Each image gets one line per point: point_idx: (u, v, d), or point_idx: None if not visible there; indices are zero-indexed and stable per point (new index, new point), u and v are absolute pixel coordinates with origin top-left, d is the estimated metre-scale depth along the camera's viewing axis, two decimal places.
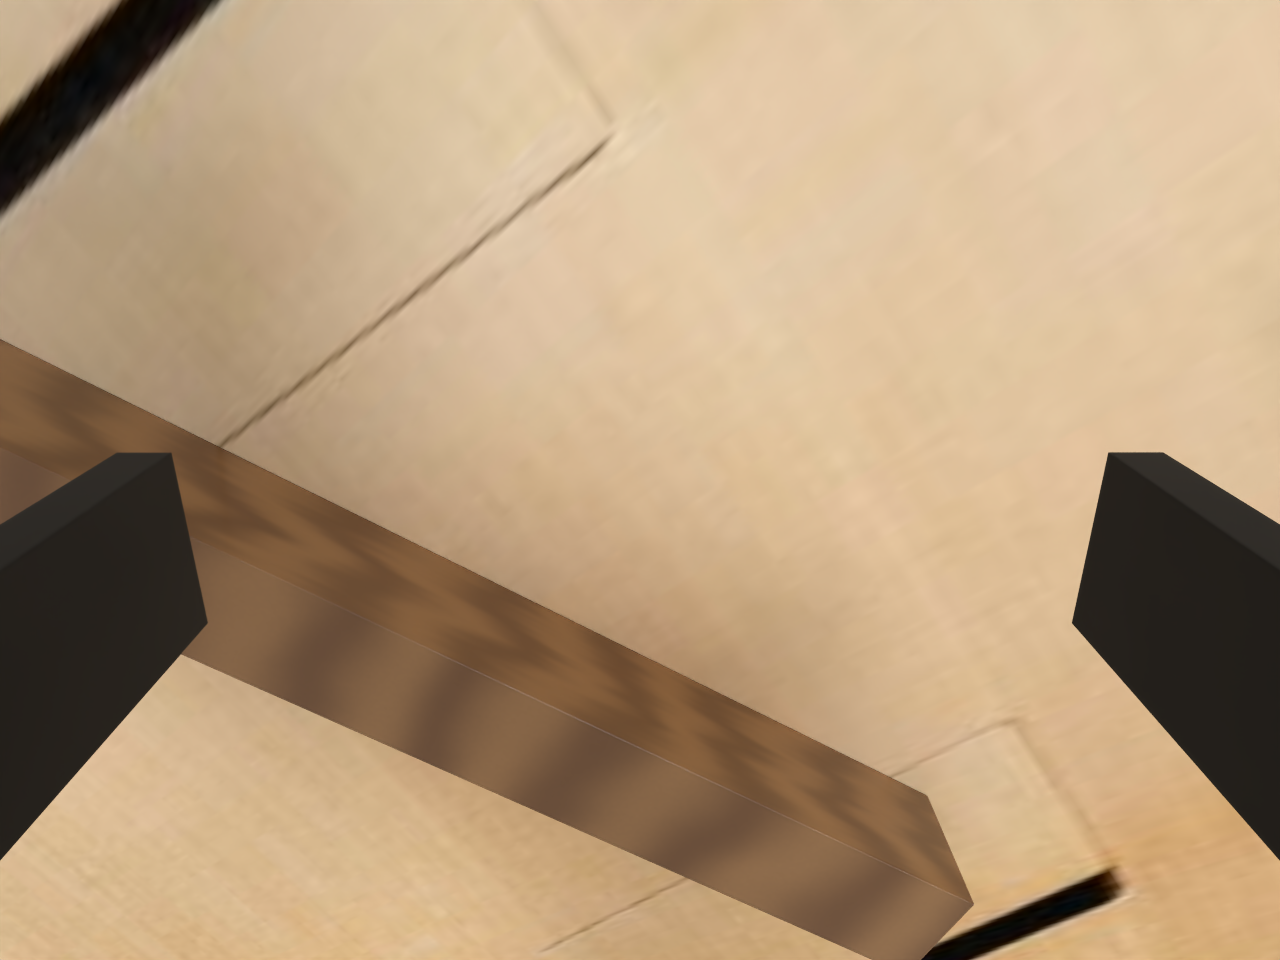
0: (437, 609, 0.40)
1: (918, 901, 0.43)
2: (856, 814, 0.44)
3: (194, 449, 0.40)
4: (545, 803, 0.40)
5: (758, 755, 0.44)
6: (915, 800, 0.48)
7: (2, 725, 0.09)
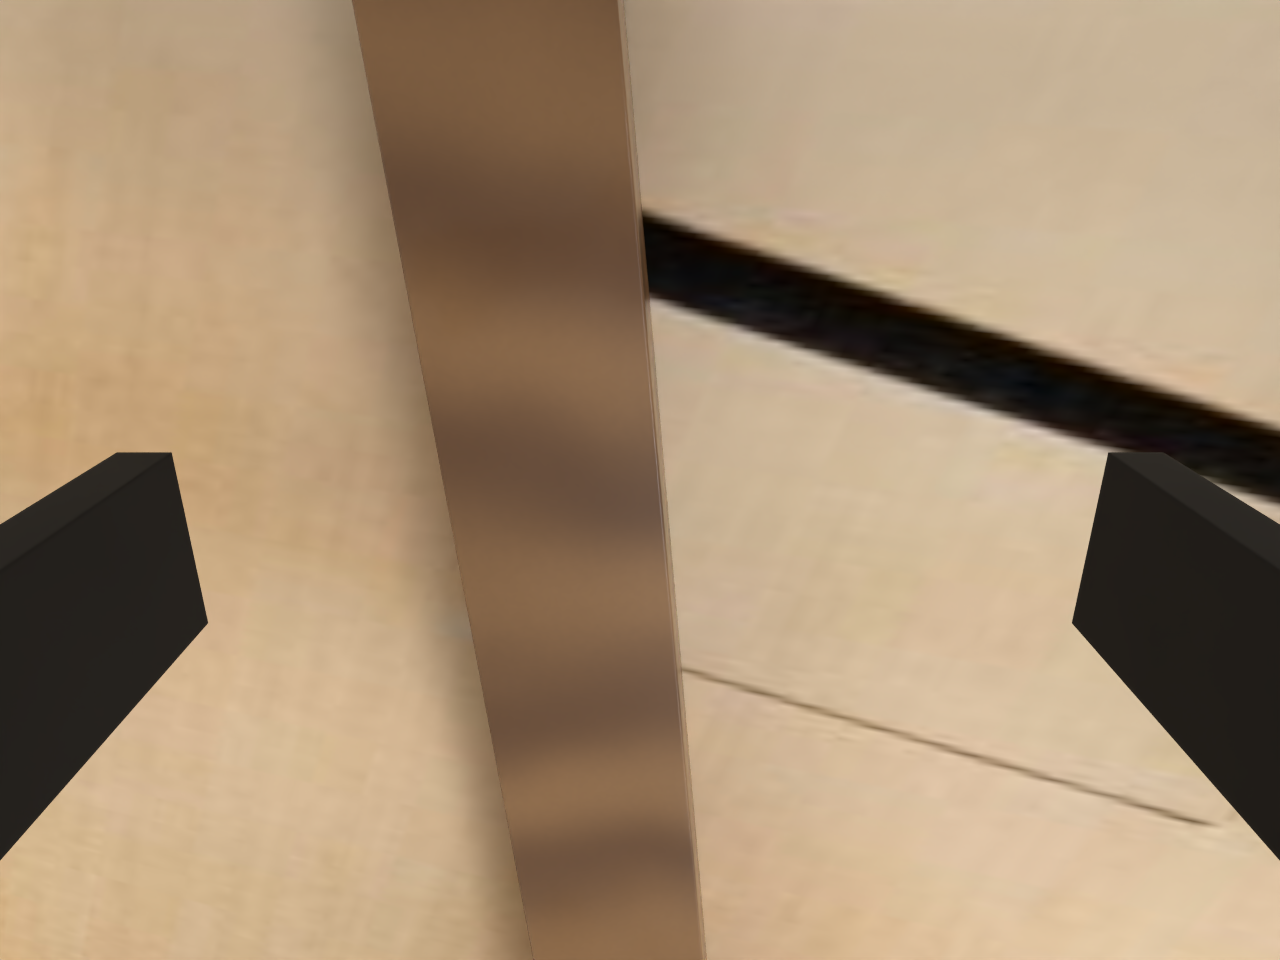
0: None
1: None
2: None
3: (681, 675, 0.32)
4: None
5: None
6: None
7: (2, 724, 0.09)
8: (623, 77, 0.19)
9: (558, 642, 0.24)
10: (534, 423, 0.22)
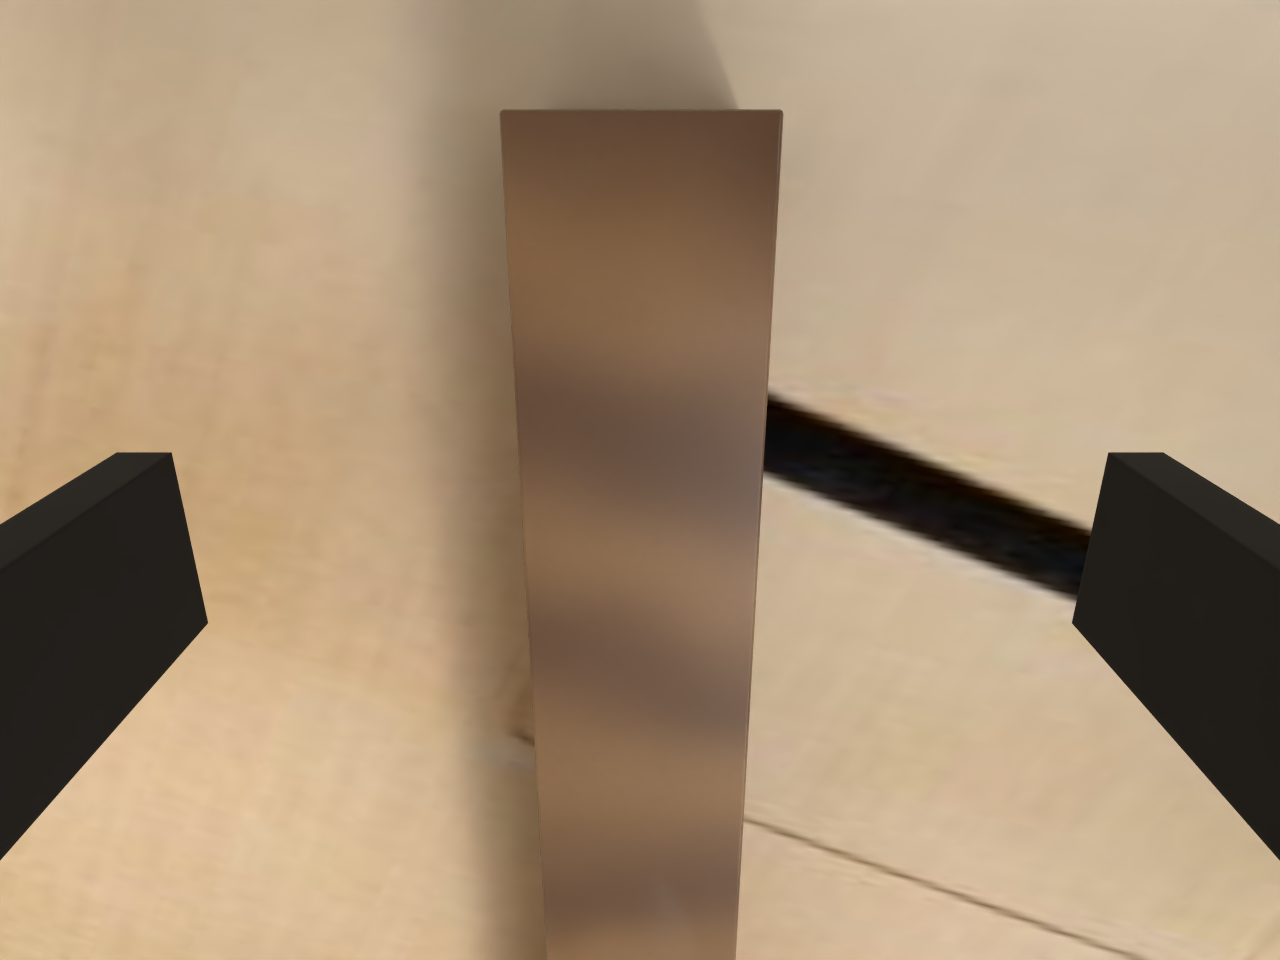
0: None
1: None
2: None
3: None
4: None
5: None
6: None
7: (1, 725, 0.09)
8: (770, 315, 0.19)
9: (626, 826, 0.24)
10: (631, 624, 0.21)
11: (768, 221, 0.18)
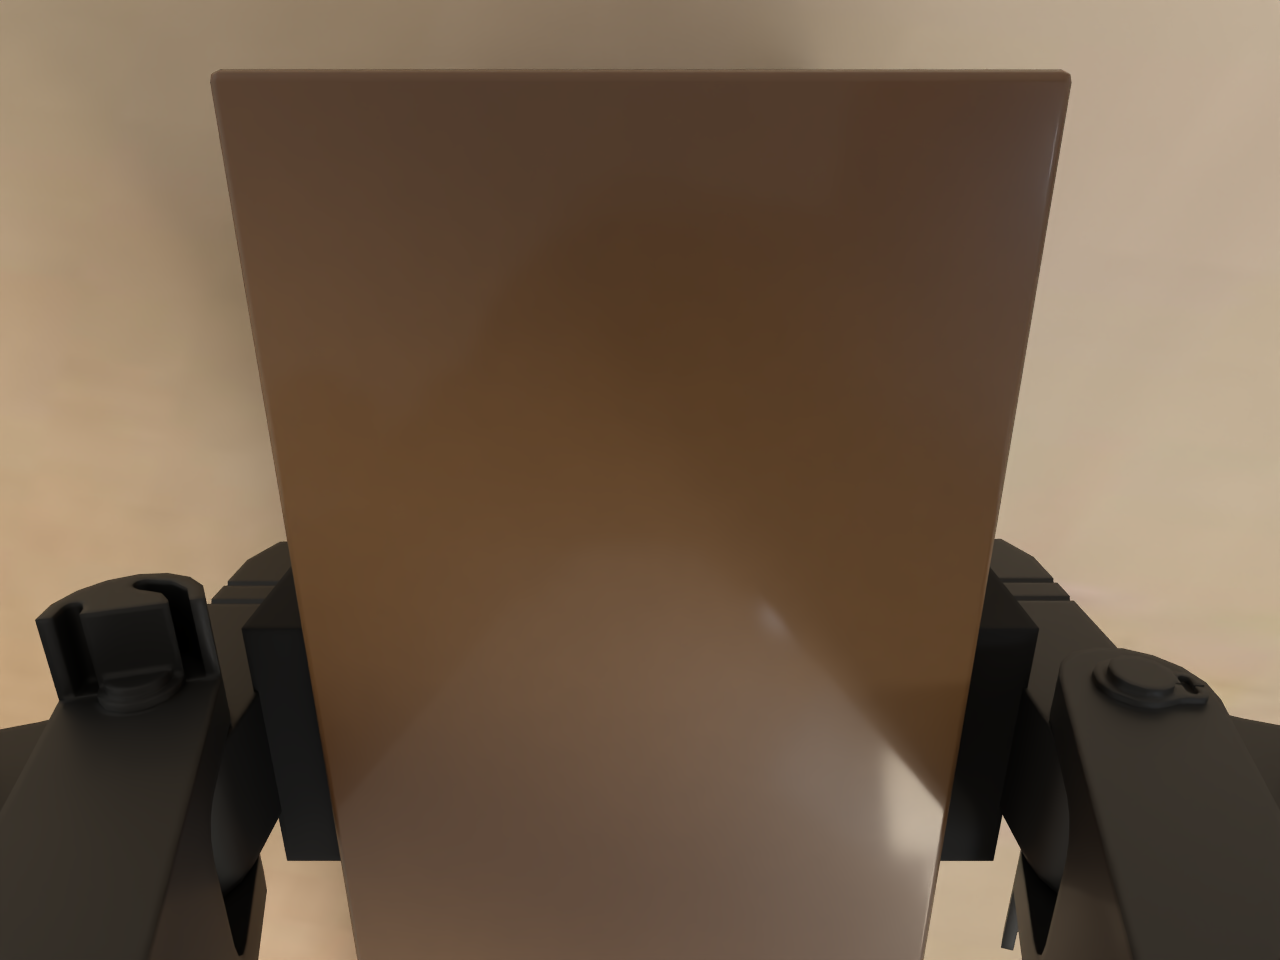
0: None
1: None
2: None
3: None
4: None
5: None
6: None
7: None
8: (980, 617, 0.07)
9: None
10: None
11: (998, 388, 0.06)
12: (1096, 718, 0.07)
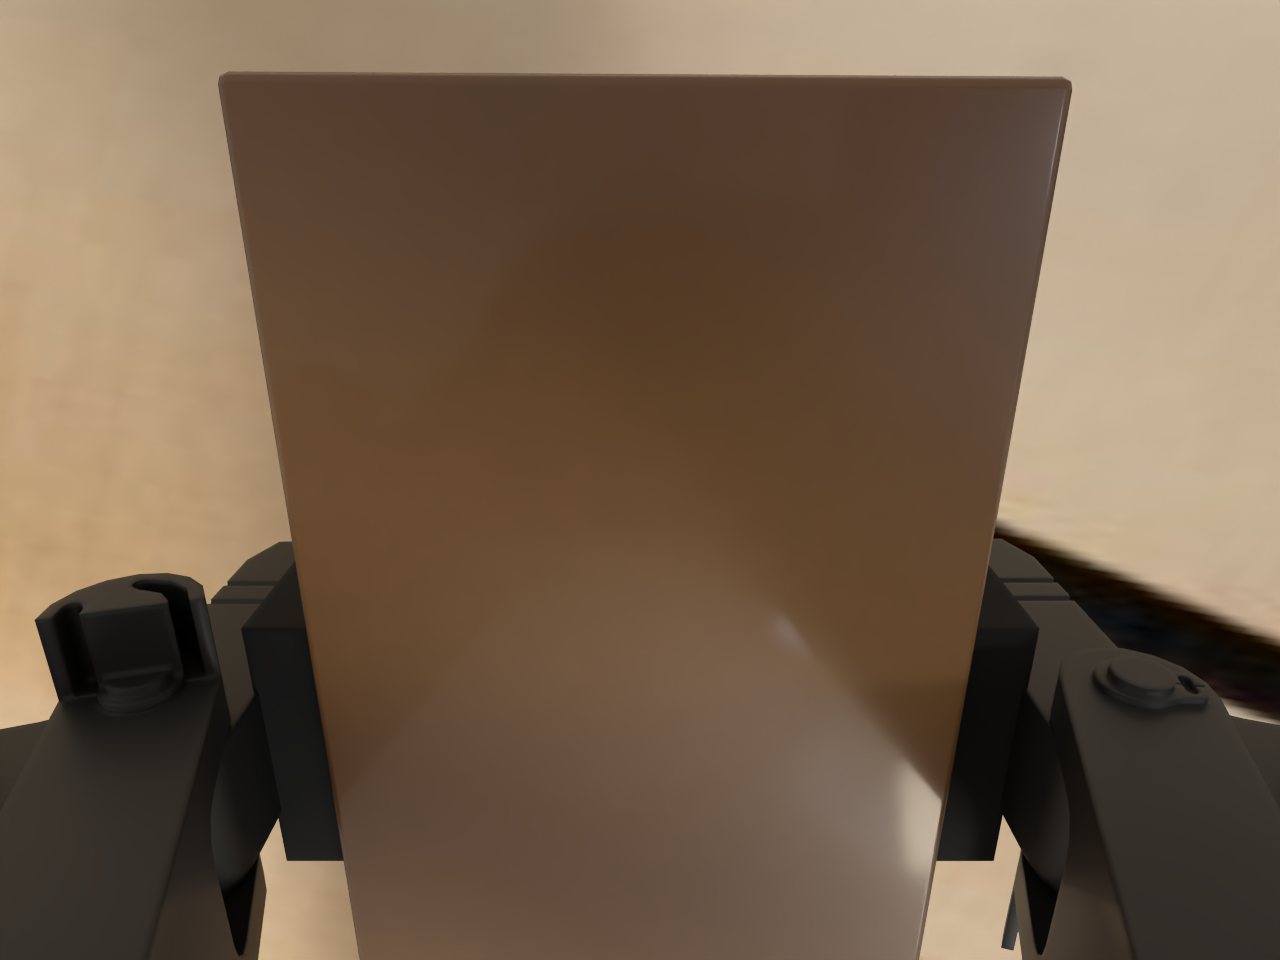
0: None
1: None
2: None
3: None
4: None
5: None
6: None
7: None
8: (978, 618, 0.07)
9: None
10: None
11: (997, 390, 0.06)
12: (1096, 717, 0.07)
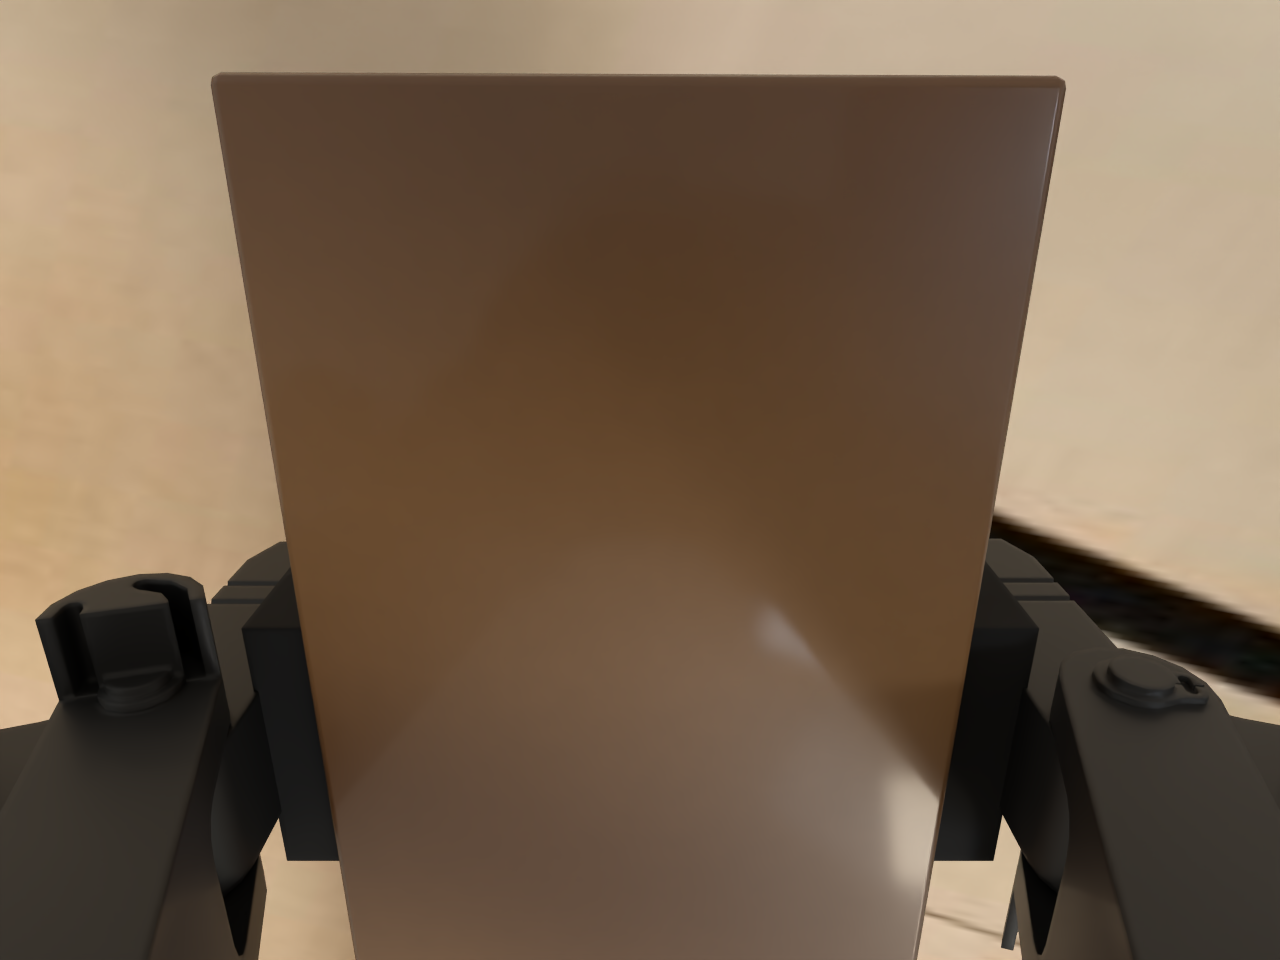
0: None
1: None
2: None
3: None
4: None
5: None
6: None
7: None
8: (974, 618, 0.07)
9: None
10: None
11: (993, 390, 0.06)
12: (1096, 717, 0.07)
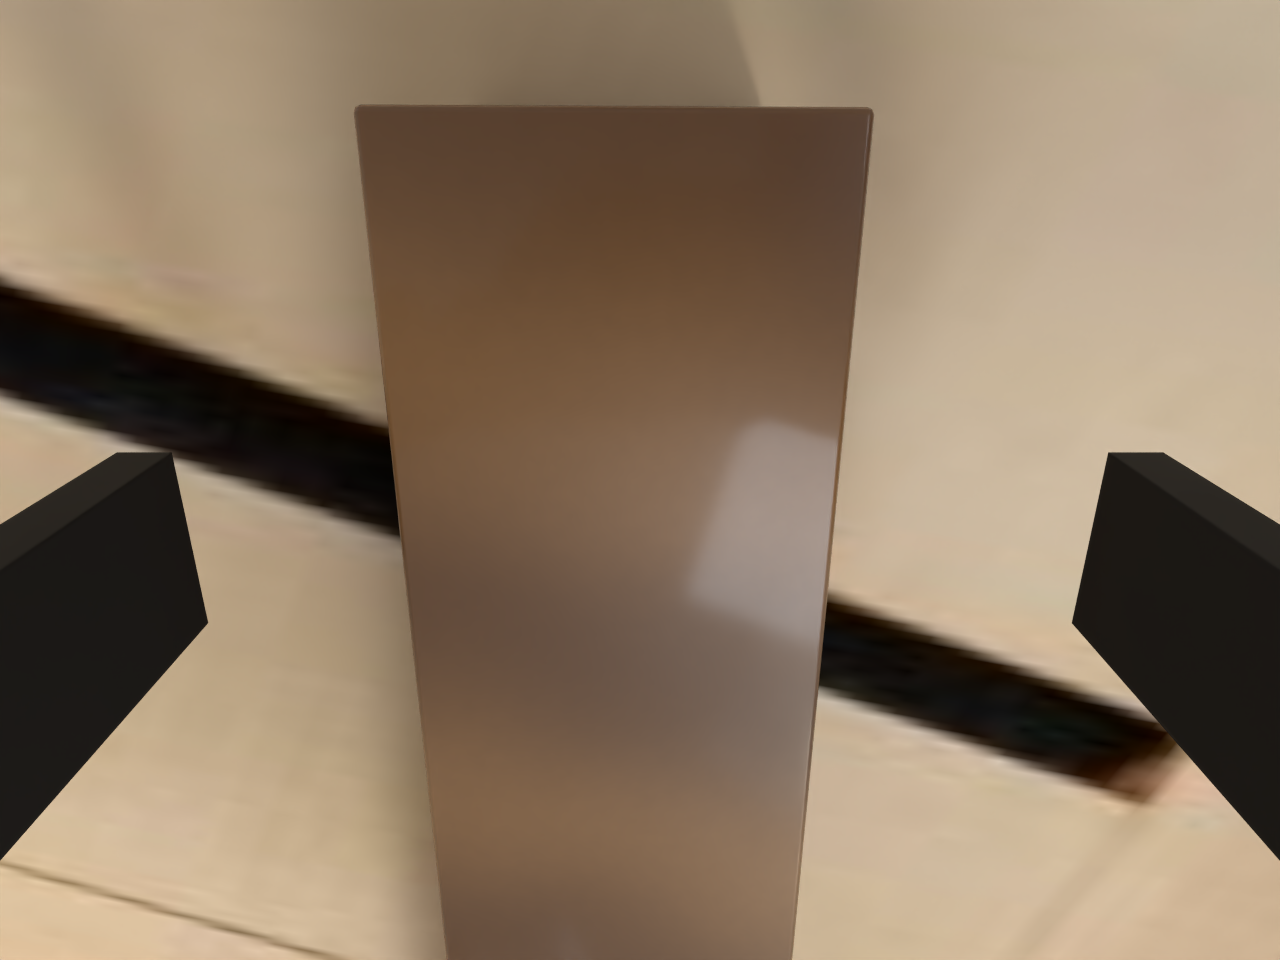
0: None
1: None
2: None
3: None
4: None
5: None
6: None
7: (3, 724, 0.09)
8: (839, 459, 0.11)
9: None
10: (606, 915, 0.14)
11: (841, 303, 0.10)
12: None
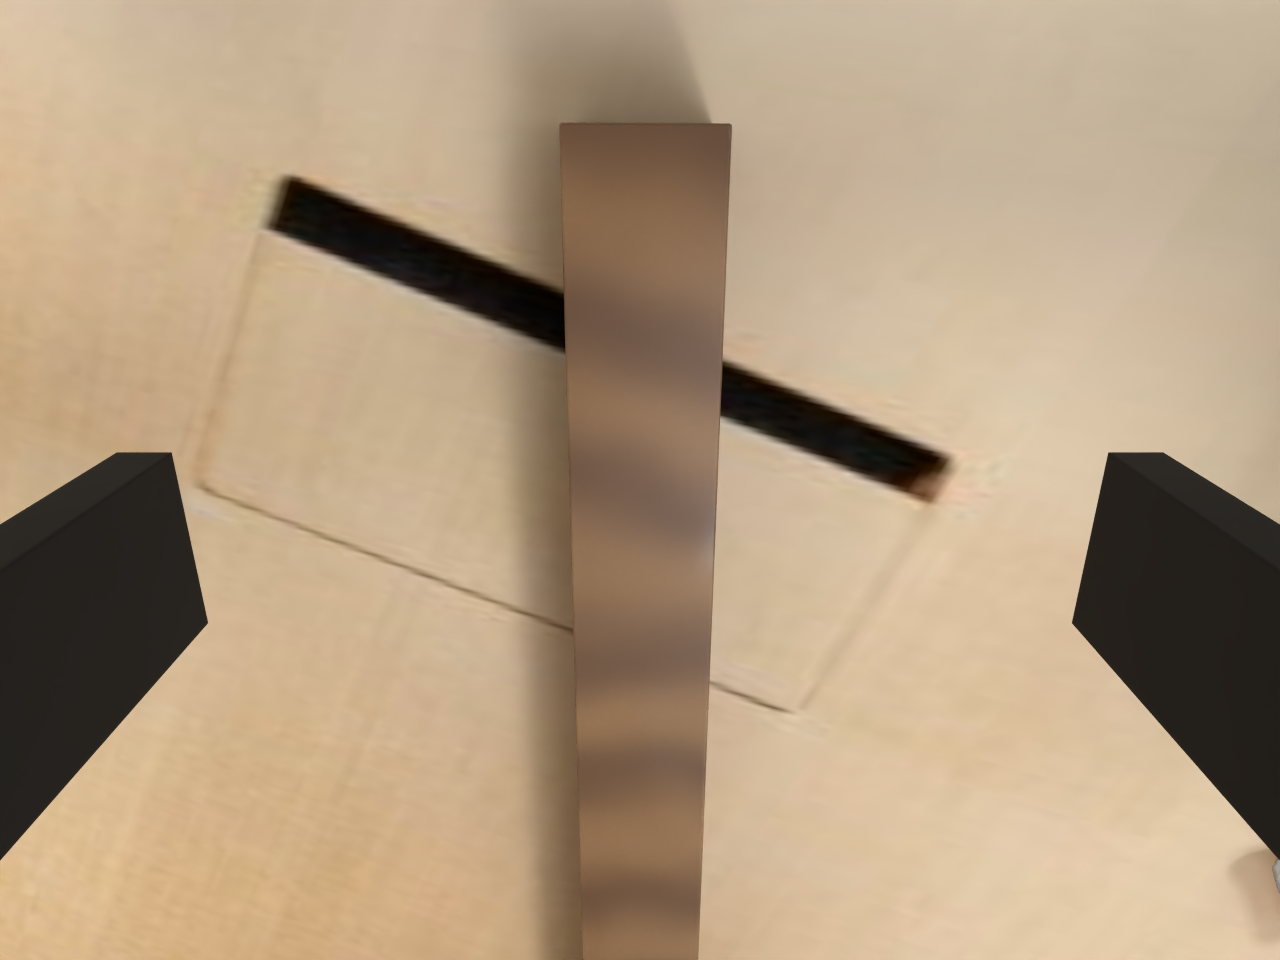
0: None
1: None
2: None
3: None
4: None
5: None
6: None
7: (2, 725, 0.09)
8: (725, 251, 0.30)
9: (632, 610, 0.35)
10: (637, 460, 0.33)
11: (723, 192, 0.29)
12: None
